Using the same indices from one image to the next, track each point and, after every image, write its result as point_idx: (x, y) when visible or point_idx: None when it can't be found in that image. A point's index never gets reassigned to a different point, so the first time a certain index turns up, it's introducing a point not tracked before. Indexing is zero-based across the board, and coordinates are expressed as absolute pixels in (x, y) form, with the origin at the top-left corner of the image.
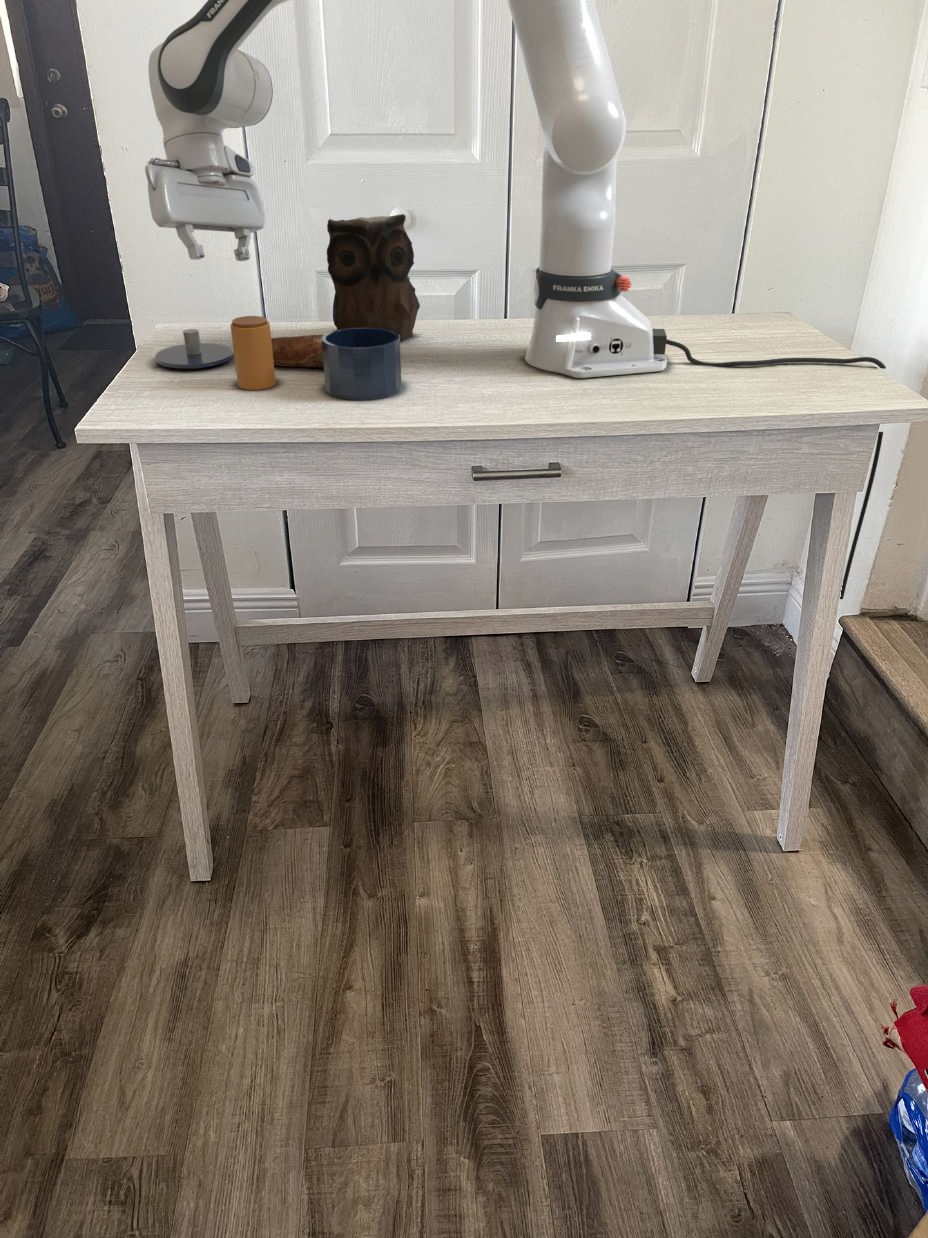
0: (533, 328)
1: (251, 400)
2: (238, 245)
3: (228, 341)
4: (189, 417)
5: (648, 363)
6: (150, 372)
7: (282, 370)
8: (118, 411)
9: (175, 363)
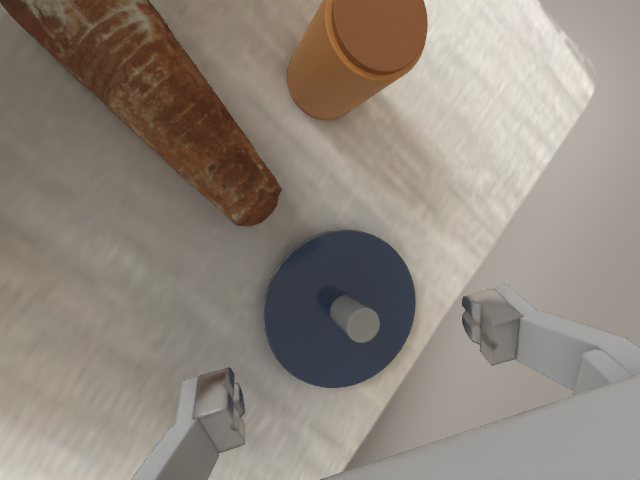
0: None
1: None
2: (204, 476)
3: None
4: (490, 16)
5: None
6: (429, 287)
7: None
8: (543, 128)
9: (402, 266)
